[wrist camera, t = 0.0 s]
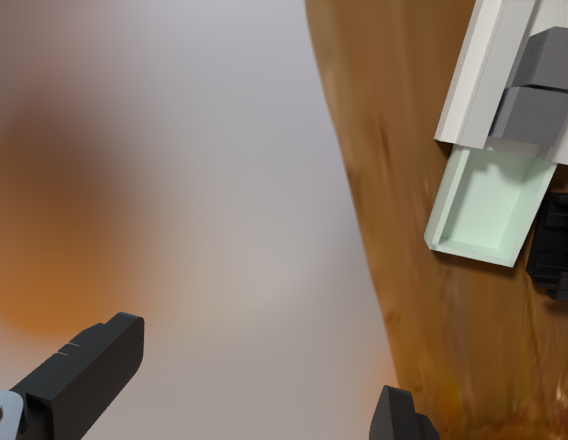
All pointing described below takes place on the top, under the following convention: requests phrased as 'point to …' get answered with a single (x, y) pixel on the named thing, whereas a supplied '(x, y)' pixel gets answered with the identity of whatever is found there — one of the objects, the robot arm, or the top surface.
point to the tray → (487, 204)
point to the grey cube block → (545, 61)
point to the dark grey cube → (530, 115)
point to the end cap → (551, 246)
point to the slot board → (472, 60)
